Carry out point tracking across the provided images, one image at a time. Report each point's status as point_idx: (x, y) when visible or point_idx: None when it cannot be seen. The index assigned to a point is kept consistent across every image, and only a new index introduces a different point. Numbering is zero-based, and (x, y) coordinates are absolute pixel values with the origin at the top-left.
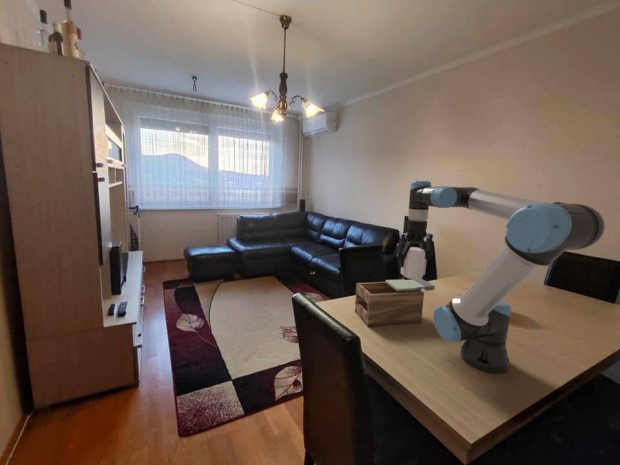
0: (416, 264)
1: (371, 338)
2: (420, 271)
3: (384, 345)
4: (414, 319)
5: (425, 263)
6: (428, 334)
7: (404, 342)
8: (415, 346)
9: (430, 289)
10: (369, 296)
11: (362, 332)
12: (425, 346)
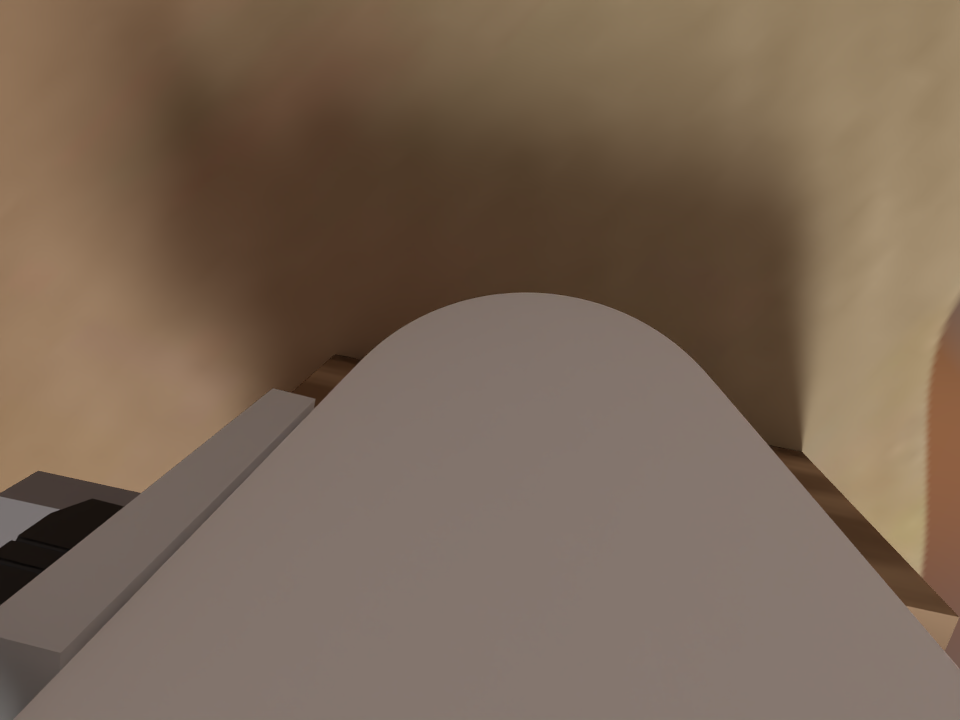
0: (732, 457)
1: (905, 293)
2: (517, 327)
3: (887, 166)
4: None
5: (126, 531)
6: (418, 178)
7: (700, 146)
8: (662, 62)
9: (84, 486)
10: (949, 611)
11: (904, 396)
12: (584, 32)
